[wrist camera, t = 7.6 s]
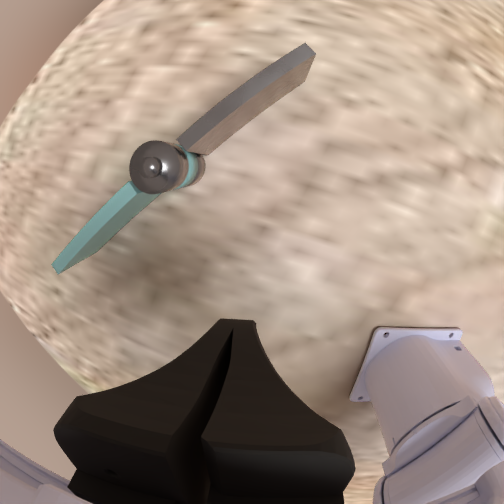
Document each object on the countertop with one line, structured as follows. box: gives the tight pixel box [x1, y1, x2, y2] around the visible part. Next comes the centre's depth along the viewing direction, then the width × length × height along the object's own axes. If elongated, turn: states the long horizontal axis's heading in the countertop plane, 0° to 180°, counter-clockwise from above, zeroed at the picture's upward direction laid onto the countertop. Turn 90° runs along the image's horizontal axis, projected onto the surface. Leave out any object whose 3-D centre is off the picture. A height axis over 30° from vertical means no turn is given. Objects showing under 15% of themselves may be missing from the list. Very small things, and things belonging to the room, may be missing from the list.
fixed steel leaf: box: [129, 43, 316, 194], centre depth 14 cm, size 11×3×6 cm, turn 129°
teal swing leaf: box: [51, 144, 198, 274], centre depth 16 cm, size 11×3×5 cm, turn 125°
